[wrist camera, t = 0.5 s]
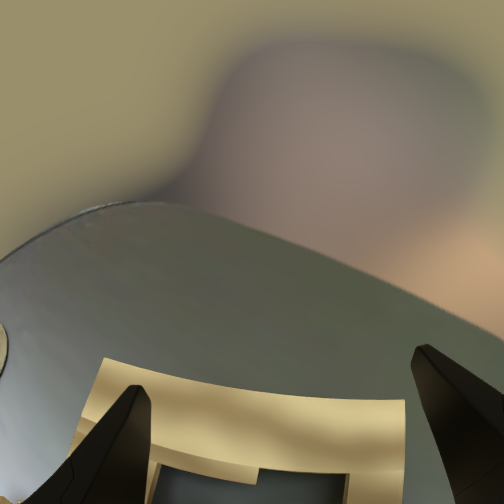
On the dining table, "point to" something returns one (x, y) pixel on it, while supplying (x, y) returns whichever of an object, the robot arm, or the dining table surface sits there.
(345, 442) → the keyhole board
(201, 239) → the dining table surface
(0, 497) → the mustard yellow block
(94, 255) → the dining table surface
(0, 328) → the pastry
